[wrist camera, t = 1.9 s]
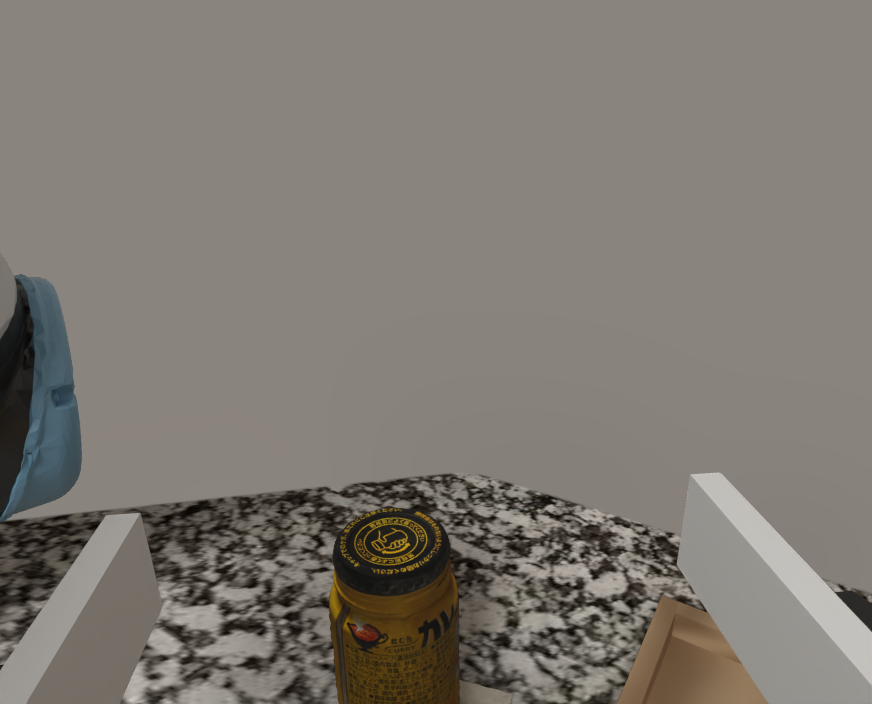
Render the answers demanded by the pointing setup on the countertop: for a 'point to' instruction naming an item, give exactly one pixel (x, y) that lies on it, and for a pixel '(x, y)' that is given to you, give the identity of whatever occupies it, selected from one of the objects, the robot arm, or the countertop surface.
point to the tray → (687, 662)
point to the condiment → (398, 614)
